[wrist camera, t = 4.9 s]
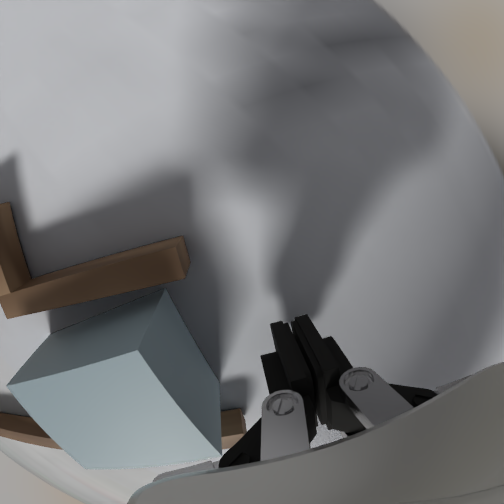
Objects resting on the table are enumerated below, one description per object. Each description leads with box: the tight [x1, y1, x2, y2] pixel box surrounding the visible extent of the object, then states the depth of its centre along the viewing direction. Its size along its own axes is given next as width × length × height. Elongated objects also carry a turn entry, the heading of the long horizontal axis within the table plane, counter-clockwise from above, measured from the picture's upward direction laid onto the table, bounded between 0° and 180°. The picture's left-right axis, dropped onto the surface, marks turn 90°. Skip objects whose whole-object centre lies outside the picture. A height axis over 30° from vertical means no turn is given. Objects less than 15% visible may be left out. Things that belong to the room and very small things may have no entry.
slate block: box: [7, 288, 222, 469], centre depth 11 cm, size 6×8×5 cm
